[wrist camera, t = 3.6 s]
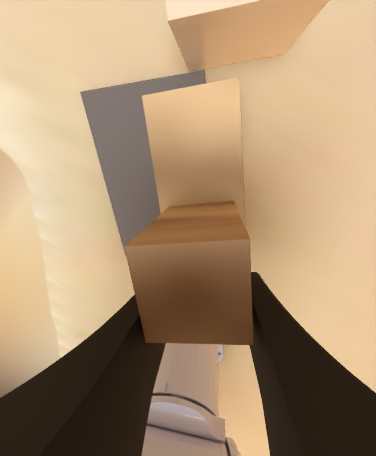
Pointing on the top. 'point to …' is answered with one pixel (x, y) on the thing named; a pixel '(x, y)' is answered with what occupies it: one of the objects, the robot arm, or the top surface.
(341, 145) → the top surface
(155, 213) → the mat
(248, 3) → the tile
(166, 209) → the brown l-shaped block
